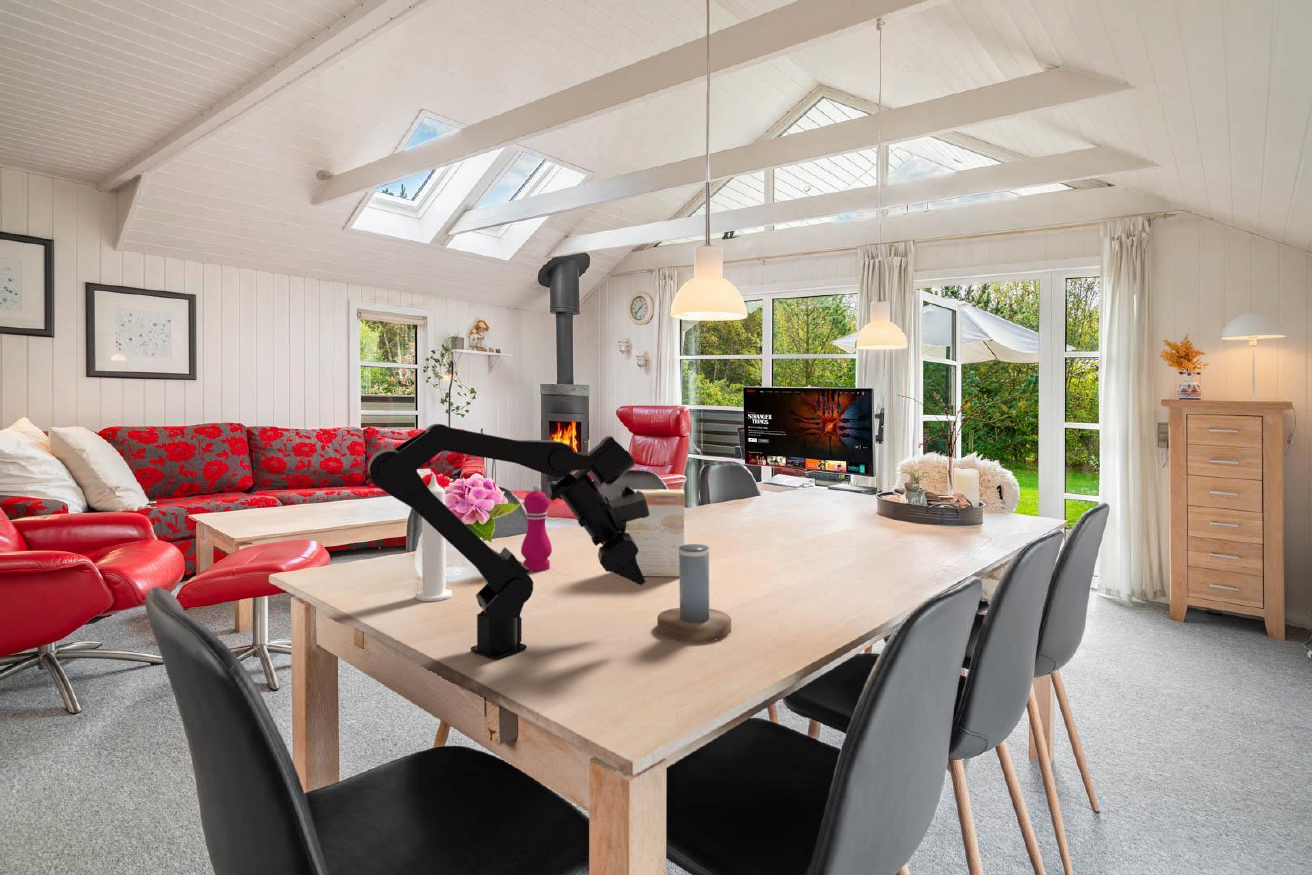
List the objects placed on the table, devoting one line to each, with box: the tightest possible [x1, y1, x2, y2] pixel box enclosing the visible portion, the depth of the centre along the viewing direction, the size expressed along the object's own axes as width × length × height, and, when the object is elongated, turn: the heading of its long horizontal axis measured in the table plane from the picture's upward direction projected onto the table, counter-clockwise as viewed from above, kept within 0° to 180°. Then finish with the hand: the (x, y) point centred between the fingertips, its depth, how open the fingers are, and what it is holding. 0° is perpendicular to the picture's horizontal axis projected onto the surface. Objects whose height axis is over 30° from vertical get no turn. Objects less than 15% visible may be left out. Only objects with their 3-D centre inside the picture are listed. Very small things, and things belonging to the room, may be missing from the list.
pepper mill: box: [520, 484, 553, 572], centre depth 167 cm, size 7×7×20 cm
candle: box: [415, 473, 453, 602], centre depth 142 cm, size 7×7×25 cm
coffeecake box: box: [625, 488, 685, 578], centre depth 164 cm, size 15×7×20 cm, turn 88°
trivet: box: [656, 607, 732, 643], centre depth 124 cm, size 13×13×2 cm
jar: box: [678, 543, 710, 623], centre depth 123 cm, size 5×5×12 cm
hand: (638, 572), depth 122 cm, fingers open, 9 cm apart
